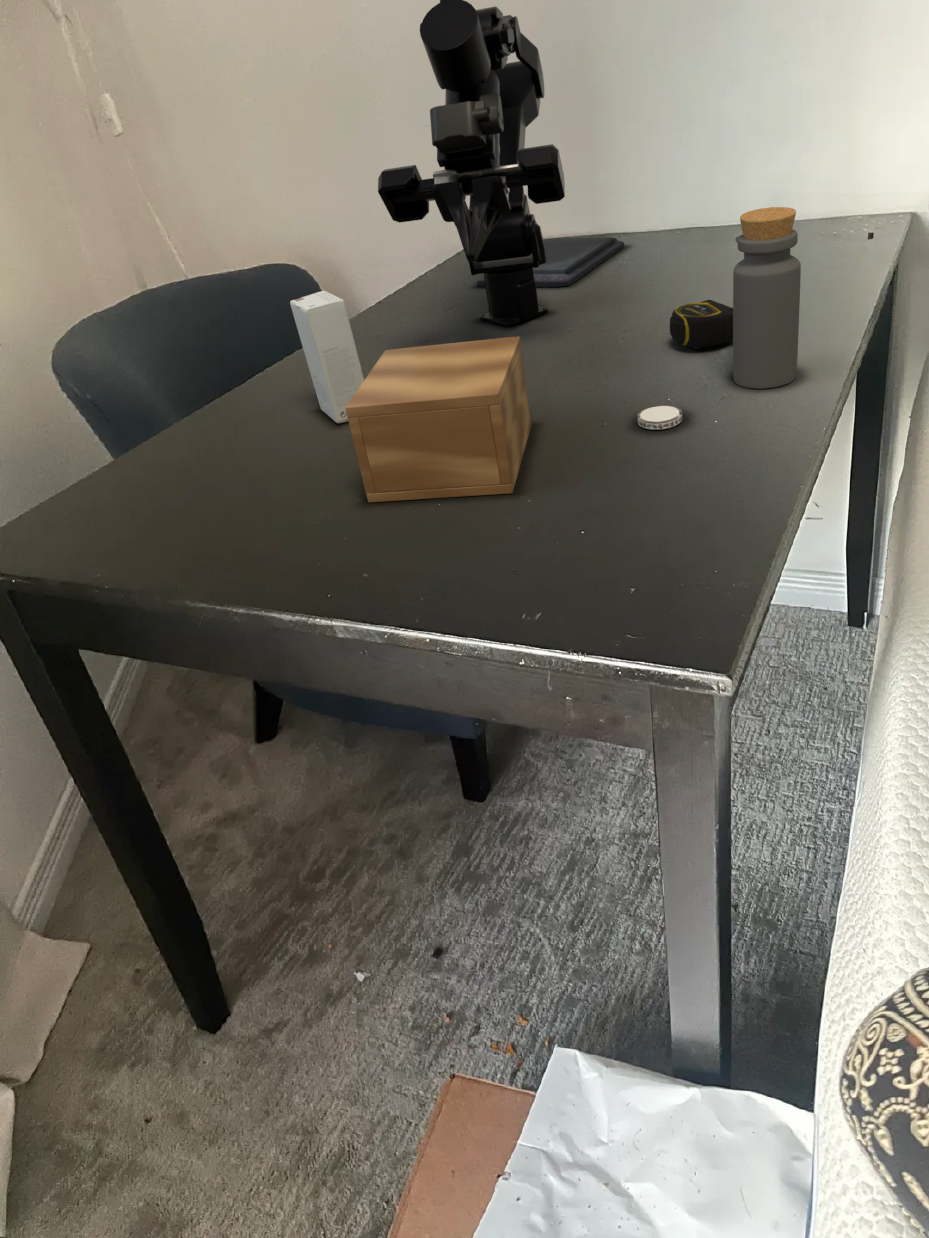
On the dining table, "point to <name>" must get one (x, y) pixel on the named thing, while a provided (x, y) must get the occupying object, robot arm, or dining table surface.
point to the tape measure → (702, 324)
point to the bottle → (766, 300)
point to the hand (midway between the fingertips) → (471, 259)
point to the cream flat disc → (659, 417)
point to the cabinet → (442, 421)
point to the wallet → (571, 259)
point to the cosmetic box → (329, 351)
